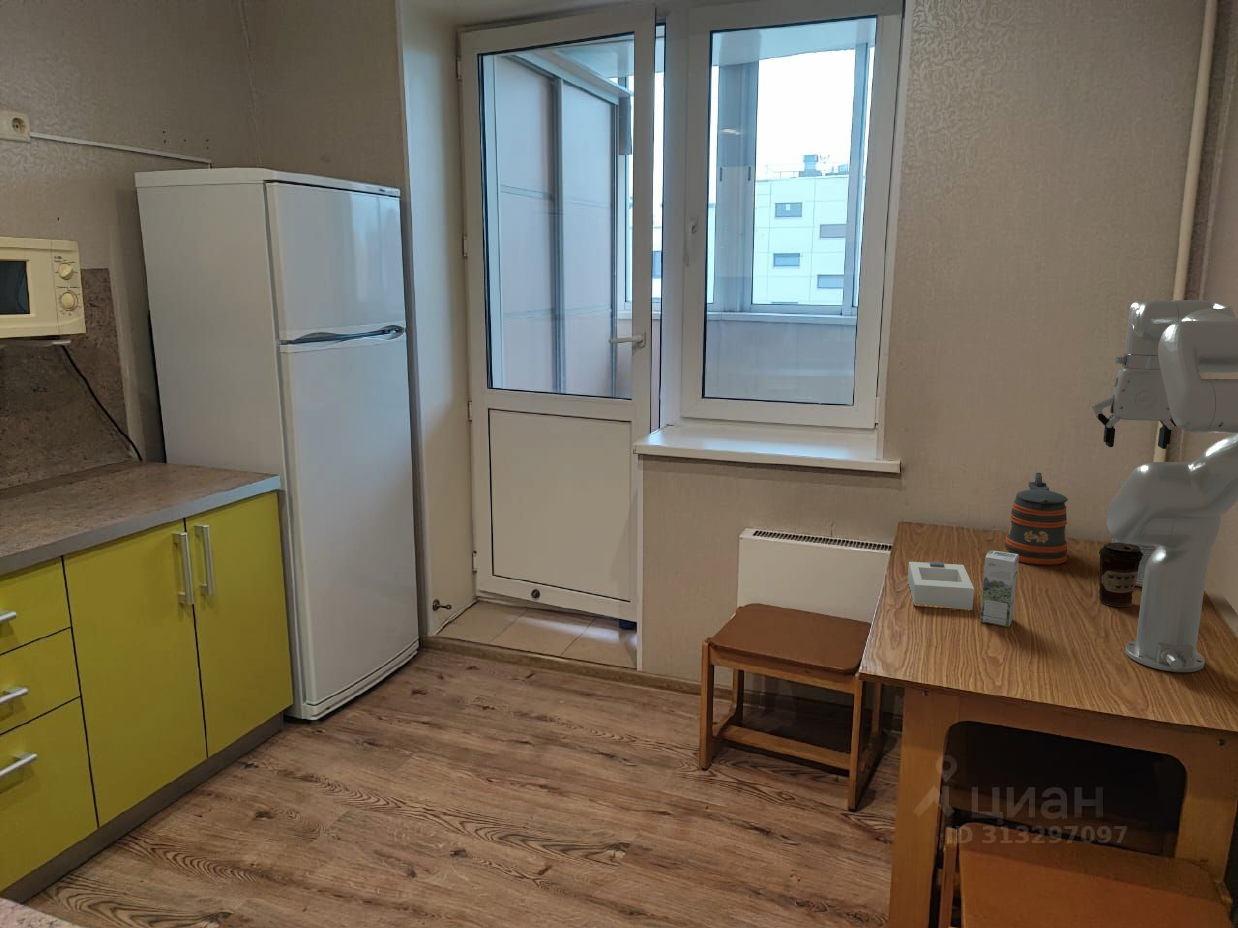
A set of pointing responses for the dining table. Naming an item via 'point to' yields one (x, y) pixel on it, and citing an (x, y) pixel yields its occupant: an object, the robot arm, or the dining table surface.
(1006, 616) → the syrup box
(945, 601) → the socket block
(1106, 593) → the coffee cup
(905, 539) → the dining table surface
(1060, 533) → the beer stein
